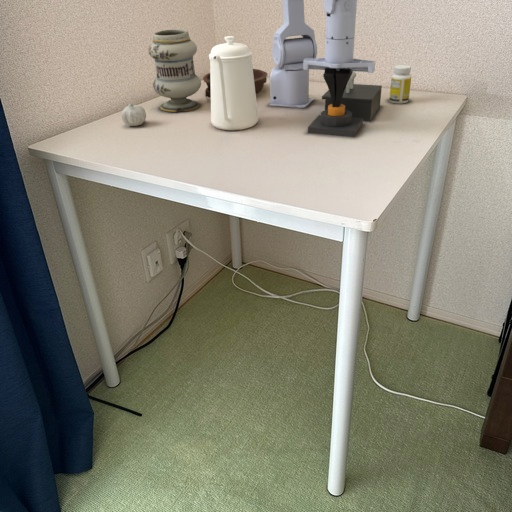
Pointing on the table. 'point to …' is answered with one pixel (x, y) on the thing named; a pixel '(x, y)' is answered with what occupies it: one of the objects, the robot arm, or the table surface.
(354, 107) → the dark grey lipped box
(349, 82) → the lid
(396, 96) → the supplement bottle
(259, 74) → the dish
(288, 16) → the robot arm
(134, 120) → the garlic
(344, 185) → the table surface
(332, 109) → the button
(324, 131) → the orange push button box
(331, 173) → the table surface
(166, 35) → the apothecary jar
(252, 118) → the coffeepot
